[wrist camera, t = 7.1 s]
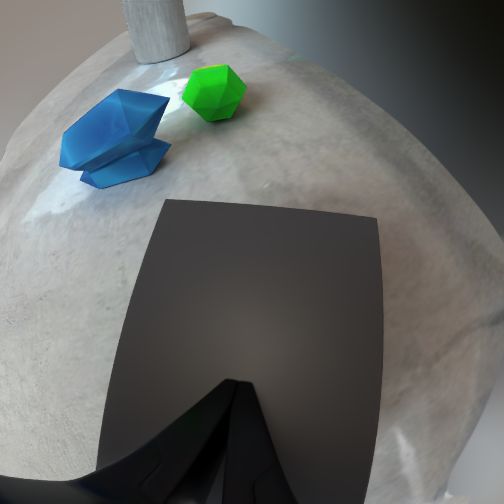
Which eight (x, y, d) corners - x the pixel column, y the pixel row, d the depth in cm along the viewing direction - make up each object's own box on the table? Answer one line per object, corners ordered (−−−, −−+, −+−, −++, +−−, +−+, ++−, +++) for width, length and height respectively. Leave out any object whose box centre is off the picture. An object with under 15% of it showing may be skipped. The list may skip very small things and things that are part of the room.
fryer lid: (169, 207, 13) (164, 198, 13) (372, 226, 12) (377, 217, 11) (103, 473, 7) (94, 475, 7) (354, 516, 6) (359, 523, 6)
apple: (215, 64, 20) (205, 37, 24) (168, 115, 23) (169, 77, 27) (270, 106, 25) (250, 70, 29) (225, 146, 28) (214, 104, 32)
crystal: (48, 122, 19) (155, 52, 18) (97, 174, 27) (195, 122, 26) (25, 174, 16) (153, 85, 14) (90, 228, 23) (206, 171, 22)
